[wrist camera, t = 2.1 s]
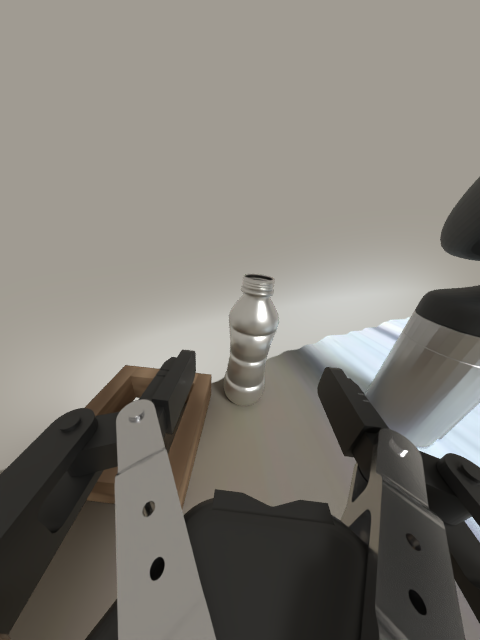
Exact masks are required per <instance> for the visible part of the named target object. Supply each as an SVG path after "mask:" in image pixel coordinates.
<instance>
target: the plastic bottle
mask: <svg viewBox="0 0 480 640" xmlns="http://www.w3.org/2000/svg"><path fill="white" fill-rule="evenodd" d="M273 287H274V278H273V277H270V276H266V275H261V274H245V275H244V277H243V286H242V288H241V291H242V292H243V296H242V297H241V298H240V299H239V300H238V301H237V302H236V304H235V305H234V306H233V307H232V309H231V311H230V314H229V326H230V340H231V342H230V358H229V363H228V369H227V371H226V374H225V377H224V382H223V385H224V391H225V394H226V396H227V397H228V399H229V400H230V401H232V402H233V403H235V404H237V405H240V406H249V405H252V404H254V403H256V402H257V401H258V400H259V399H260V398H261V396H262V394H263V391H264V382H265V379H264V372H265V363H266V359H267V355H268V351H269V348H270V345H271V342H272V340H273V337H274V335H275V332H276V330H277V327H278V324H279V317H278V313H277V310H276V308H275V306H274V304H273V302H272V301H271V299H270V296H272V295H273V292H274V290H273Z"/></svg>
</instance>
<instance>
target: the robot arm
mask: <svg viewBox="0 0 480 640" xmlns="http://www.w3.org/2000/svg"><path fill="white" fill-rule="evenodd" d="M440 240H441V246H442V247H443V249H444V250H445V251H446V252H447V253H449V254H451V255H453V256H457V257H460V258H464V259H469V260H476V261H480V177H479V178H478V179H477V180H476V181H475V183H474V184H473V185H472V186H471V187H470V188H469V189H468V191H467V192H466V193H465V194H464V195H463V197H462V198H461V199H460V200H459V202H458V203H457V205H456V206H455V207H454V208H453V210H452V212H451V213H450V215H449V216H448V218H447V220H446V222H445V224H444V226H443V229H442V232H441V239H440ZM195 360H196V359H195V351H190V350H182V351H181V352H180V354H179V355H178V357H177V358H176V357H171V358H170V359H168V360H167V361H166V362H164V364H163V365H162V367H161V368H160V370H159V371H158V372H157V374H156V376H155V377H154V378H153V380H152V381H151V383H150V384H149V385H148V387H147V388H146V390H145V391H144V393H143V394H142V395H141V397H140V398H139V400H137V401H134V402H131V403H129V404H128V405H126V406H125V407H124V408H123V409H122V410H121V411H119V412H115V413H109V414H103V415H98V416H95V414H94V412H93V410H91V409H89V408H80V409H76V410H73V411H70V412H68V413H66V414H64V415H62V416H61V417H59V418H58V419H57V420H55V421H54V422H53V423H52V424H51V425H50V426H49V427H48V428H47V429H46V430H45V431H44V432H43V433H42V434H41V435H40V436H39V437H38V438H37V439H36V440H35V441H34V442H33V443H32V444H31V445H30V446H29V447H28V448H27V449H26V450H25V451H24V452H23V453H22V454H21V455H20V456H19V457H18V458H17V459H16V460H15V461H14V462H13V463H12V464H11V465H10V466H8V467H7V468H6V469H5V470H4V471H3V472H2V473H1V474H0V640H11V639H10V637H9V635H8V634H9V632H10V630H11V629H12V627H13V625H14V623H15V622H16V620H17V618H18V617H19V615H20V613H21V611H22V610H23V608H24V606H25V605H26V603H27V601H28V599H29V598H30V596H31V594H32V592H33V591H34V589H35V587H36V586H37V584H38V582H39V580H40V579H41V577H42V575H43V574H44V572H45V570H46V568H47V567H48V565H49V563H50V562H51V560H52V558H53V556H54V555H55V553H56V551H57V550H58V548H59V546H60V544H61V543H62V541H63V539H64V537H65V536H66V534H67V532H68V531H69V529H70V527H71V525H72V524H73V522H74V520H75V519H76V517H77V515H78V513H79V512H80V510H81V508H82V507H83V505H84V503H85V501H86V500H87V498H88V496H89V495H90V493H91V491H92V489H93V488H94V486H95V484H96V483H97V481H98V479H99V477H100V476H101V474H102V472H103V470H106V469H110V468H114V467H118V473H117V474H116V476H115V523H116V565H117V599H116V601H115V602H114V603H113V605H112V606H111V607H110V608H109V610H108V611H107V612H106V613H105V615H104V616H103V617H102V619H101V620H100V621H99V622H98V624H97V625H96V626H95V627H94V629H93V630H92V631H91V633H90V634H89V635H88V636H87V638H86V639H85V640H465V635H464V630H463V624H462V619H461V613H460V608H459V602H458V597H457V591H456V586H455V581H456V582H457V584H458V586H459V588H460V589H461V591H462V593H463V595H464V597H465V598H466V600H467V602H468V604H469V605H470V607H471V609H472V611H473V612H474V614H475V616H476V618H477V620H478V621H479V623H480V542H479V541H478V540H477V538H476V537H475V535H474V534H473V533H472V531H471V530H470V528H469V527H468V526H467V524H466V523H465V520H467V519H468V518H470V517H473V518H474V520H475V521H476V522H477V524H478V525H479V526H480V468H479V467H478V466H477V465H475V464H474V463H472V462H471V461H469V460H467V459H465V458H464V457H461V456H459V455H456V454H452V453H448V454H446V455H445V456H443V457H442V458H441V459H439V458H436V457H434V456H431V455H429V454H426V453H424V452H421V451H419V450H418V449H417V448H416V447H429V446H430V445H432V444H433V443H434V442H435V441H436V440H437V439H442V438H443V437H444V436H445V435H446V434H447V433H448V432H449V431H450V430H451V429H452V428H453V427H454V426H455V425H456V424H458V423H459V422H460V421H461V420H462V419H463V418H464V417H465V416H466V415H467V414H468V413H469V412H470V411H471V410H472V409H473V408H475V407H476V406H477V405H478V404H479V403H480V285H479V286H473V287H465V288H452V289H439V290H434V291H430V292H428V293H427V294H426V295H424V296H423V298H422V299H421V301H420V302H419V304H418V306H417V307H416V309H415V311H414V313H413V314H412V316H411V318H410V319H409V321H408V323H407V324H406V326H405V328H404V330H403V331H402V333H401V335H400V336H399V338H398V340H397V341H396V343H395V345H394V346H393V348H392V350H391V351H390V353H389V355H388V356H387V358H386V360H385V361H384V363H383V365H382V366H381V368H380V370H379V371H378V373H377V375H376V376H375V378H374V380H373V381H372V383H371V385H370V386H369V388H368V390H367V391H366V393H365V395H364V393H363V392H362V390H361V389H360V388H359V386H358V385H357V384H356V383H354V382H353V381H352V380H351V379H350V378H347V376H346V375H345V374H344V372H343V371H342V370H341V369H339V368H331V367H326V368H325V370H324V372H323V375H322V377H321V379H320V382H319V384H318V396H319V398H320V401H321V403H322V405H323V408H324V410H325V412H326V415H327V417H328V419H329V422H330V424H331V426H332V429H333V431H334V433H335V436H336V438H337V440H338V443H339V445H340V447H341V450H342V452H343V454H344V456H349V457H354V458H355V460H356V462H357V463H356V464H355V466H354V470H353V475H352V481H351V486H350V491H349V496H348V501H347V506H346V509H345V511H344V513H343V515H342V518H341V520H339V519H337V518H336V517H334V516H332V515H331V513H330V509H329V506H328V503H321V502H313V501H305V500H298V501H294V502H290V503H286V504H283V505H279V506H275V507H271V506H268V505H266V504H264V503H262V502H260V501H258V500H256V499H254V498H252V497H250V496H248V495H246V494H244V493H240V492H232V491H224V490H216V489H215V493H214V498H213V499H209V500H206V501H204V502H201V503H199V504H198V505H196V506H194V507H193V508H192V509H190V510H189V511H188V512H187V513H186V514H185V515H184V516H183V512H182V508H181V504H180V500H179V496H178V493H177V489H176V485H175V481H174V477H173V473H172V469H171V465H170V461H169V457H168V454H167V450H166V448H165V445H164V441H163V438H164V435H165V433H167V434H172V433H173V431H174V428H175V426H176V423H177V421H178V418H179V416H180V413H181V411H182V409H183V406H184V404H185V401H186V399H187V396H188V394H189V391H190V389H191V386H192V384H193V381H194V378H195V373H196V372H195V371H196V361H195ZM454 579H455V580H454Z"/></svg>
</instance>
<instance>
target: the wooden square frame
mask: <svg viewBox="0 0 480 640" xmlns="http://www.w3.org/2000/svg"><path fill="white" fill-rule="evenodd" d="M159 370H160V369H155V368H146V367H137V366H128V365H125V366H124V367H123V368H122V369H121V370H120V371H119V373H118V374H117V375H116V376H115V377H114V378H113V379H112V380H111V381H110V382H109V383H108V384H107V385H106V386H105V387H104V388H103V389H102V390H101V391H100V392H99V393H98V394H97V395H96V396H95V398H93V399H92V400H91V402H90V403H89V404H88V405H87V406H86V407H85V408H89V409H91V410H93V412H94V414H95V416H98V415H103V414H109V413H115V412H119V411H121V410H122V409H123V408H124V407H125V406H126V405H128V404H129V403H131V402H133V400H134V399H135V398H136V397H138V398H140V397H141V395H142V394H143V393H144V391H145V390H146V388H147V387H148V385H149V384H150V383H151V381H152V380H153V378H154V377H155V376H156V374H157V372H158V371H159ZM210 397H211V375H209V374H200V373H195V378H194V381H193V384H192V386H191V389H190V391H189V394H188V396H187V399H186V401H185V403H187V405H186V408H185V410H184V413H183V416H182V418H181V421H180V424H179V426H178V429H177V431H176V434H175V437H174V439H173V442H172V445H171V447H170V450H169V453H168V457H169V461H170V465H171V469H172V473H173V477H174V481H175V485H176V489H177V493H178V496H179V500H180V504H181V508H183V504H184V500H185V496H186V492H187V488H188V484H189V480H190V476H191V472H192V468H193V464H194V460H195V456H196V452H197V448H198V445H199V441H200V437H201V433H202V429H203V425H204V421H205V417H206V413H207V409H208V405H209V401H210ZM117 473H118V467H114V468H110V469H106V470H103V472H102V474H101V476H100V477H99V479H98V481H97V483H96V484H95V486H94V488H93V489H92V491H91V493H90V495H89V496H88V498H87V501H96V502H104V503H112V504H115V476H116V474H117Z"/></svg>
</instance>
